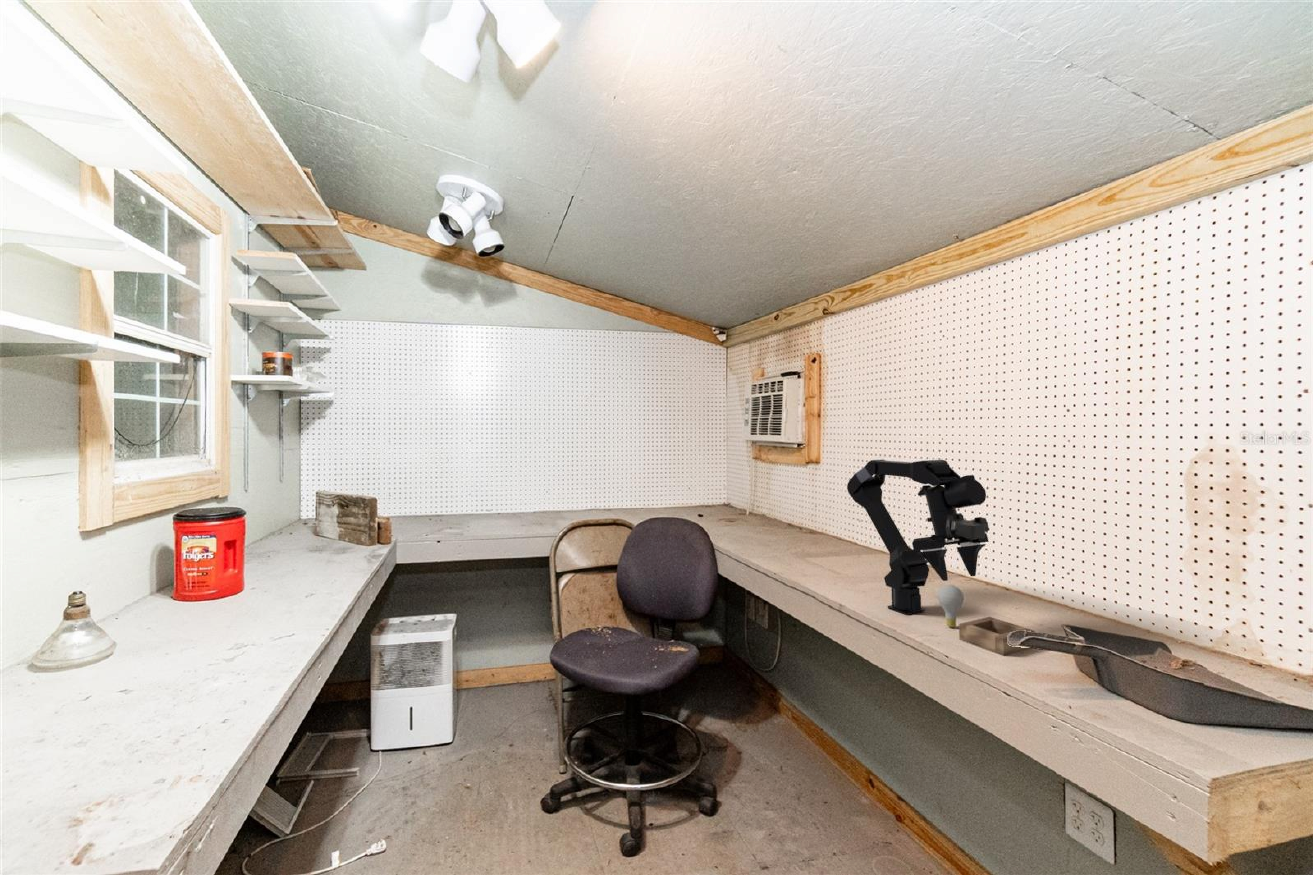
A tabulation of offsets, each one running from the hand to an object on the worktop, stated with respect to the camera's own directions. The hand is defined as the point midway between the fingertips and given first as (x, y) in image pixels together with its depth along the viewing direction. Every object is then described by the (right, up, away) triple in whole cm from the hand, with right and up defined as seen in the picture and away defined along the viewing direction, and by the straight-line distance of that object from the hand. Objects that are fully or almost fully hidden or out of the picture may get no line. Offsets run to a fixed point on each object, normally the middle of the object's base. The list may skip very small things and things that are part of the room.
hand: (959, 578), depth 126 cm
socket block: (+4, -12, -8) cm, 15 cm away
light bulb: (-1, -12, +2) cm, 13 cm away
